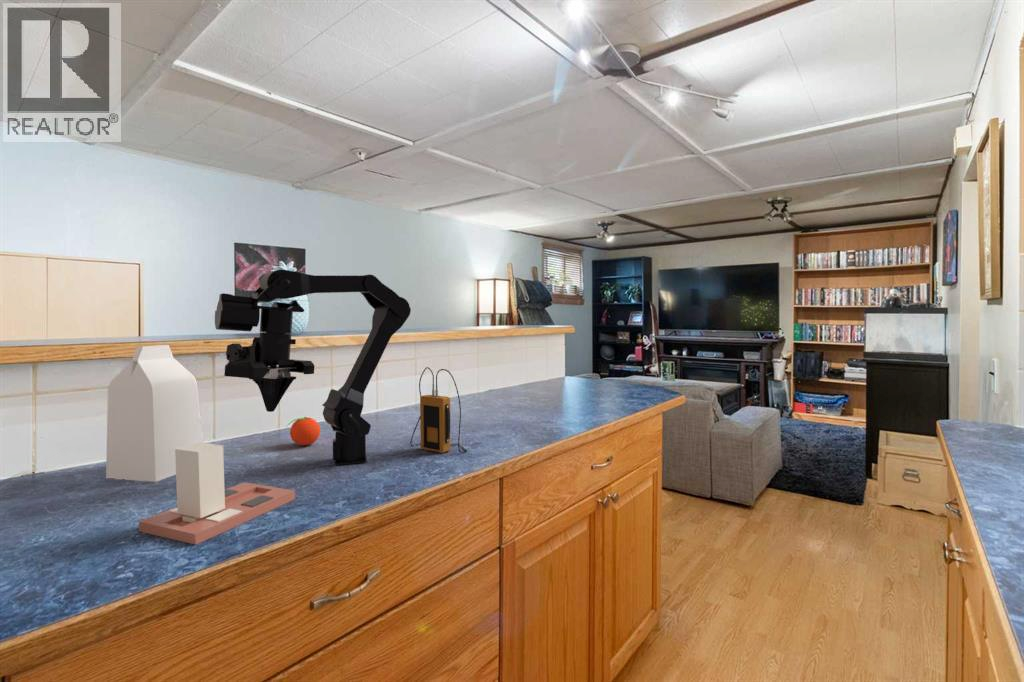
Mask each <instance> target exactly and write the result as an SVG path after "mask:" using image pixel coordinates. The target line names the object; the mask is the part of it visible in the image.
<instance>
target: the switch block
mask: <svg viewBox="0 0 1024 682" xmlns="http://www.w3.org/2000/svg"><path fill="white" fill-rule="evenodd" d="M224 490H225V509H222V510H221V511H219V512H217V513H215V514H212V515H210V516H207V517H205V518H202V519H200V520H198V521H195V522H193V523H190V522H185V521H182V516H184V515H182V514H177V506H176V507H174V508H172V509H171V508H170V509H168V510H165V511H163V512H160V513H158V514H155V515H152V516H151V517H150V516H149V517H147V518H144V519H141V520H139V521H138V531H139V532H142V533H144V534H149V535H153V536H157V537H162V538H166V539H171V540H173V541H179V542H182V543H187V544H190V545H195V546H196V545H198V544H200V543H203V542H205V541H207V540H209V539H212V538H213V537H216V536H218V535H220V534H222V533H224V532H227V531H229V530H231V529H233V528H235V527H237V526H240V525H242V524H244V523H246V522H248V521H251V520H253V519H255V518H257V517H259V516H262V515H264V514H266V513H268V512H270V511H272V510H275V509H277V508H279V507H281V506H283V505H286V504H287V503H290V502H292V501H294V500H296V490H292V489H287V488H282V487H275V486H271V485H270V486H269V485H262V484H257V483H251V482H246V481H245V482H242V483H239V484H236V485H234V486H231V487H228V488H224Z"/></svg>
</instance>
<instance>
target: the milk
mask: <svg viewBox="0 0 1024 682" xmlns="http://www.w3.org/2000/svg"><path fill="white" fill-rule="evenodd" d="M199 398H200V397H199V388H198V382H197V380H196V377H195V376H194V375H193V373H191V371H189V370H188V369H187V368H186V367H185V366H184V365H182V364H181V363H180V362H179V361H178V360H177V359H176V358H175V357H174V355H173V353H172V350H171V347H170V345H168V344H160V345H143V346H137V347H136V350H135V352H134V354H133V356H132V359H131V361H130V362H129V363H128V364H127V365H126V366H125V367H123V369H122V370H121V371H119V372H118V374H116V375H115V376H114V377H113V379H112V380H111V381H110V382H109V384H108V387H107V411H106V412H107V414H106V415H107V416H106V419H107V420H106V457H105V458H106V460H105V461H106V462H105V463H106V464H105V465H106V466H105V467H106V468H105V469H106V470H105V479H108V478H114V480H122V479H125V480H124V481H139V482H150V483H151V482H152V483H153V482H154V483H156V482H160V481H162V480H164V479H168V478H170V477H173V476H176V458H175V449H177V448H181V447H185V446H189V445H193V444H197V443H200V442H201V443H204V437H203V436H204V435H203V426H202V418H201V417H202V416H201V407H200V399H199Z"/></svg>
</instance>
